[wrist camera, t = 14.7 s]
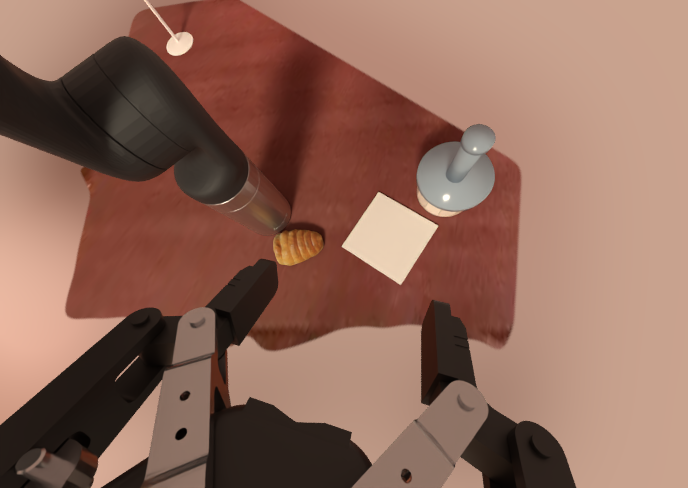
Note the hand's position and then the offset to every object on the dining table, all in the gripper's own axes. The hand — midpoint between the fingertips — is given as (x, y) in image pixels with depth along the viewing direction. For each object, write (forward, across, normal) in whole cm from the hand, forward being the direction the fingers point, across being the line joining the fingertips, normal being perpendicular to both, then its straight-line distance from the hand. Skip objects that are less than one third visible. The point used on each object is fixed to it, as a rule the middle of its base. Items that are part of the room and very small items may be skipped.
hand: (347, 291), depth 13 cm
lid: (+35, -10, +4) cm, 37 cm away
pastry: (+28, +16, +20) cm, 38 cm away
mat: (+32, -2, +16) cm, 36 cm away
